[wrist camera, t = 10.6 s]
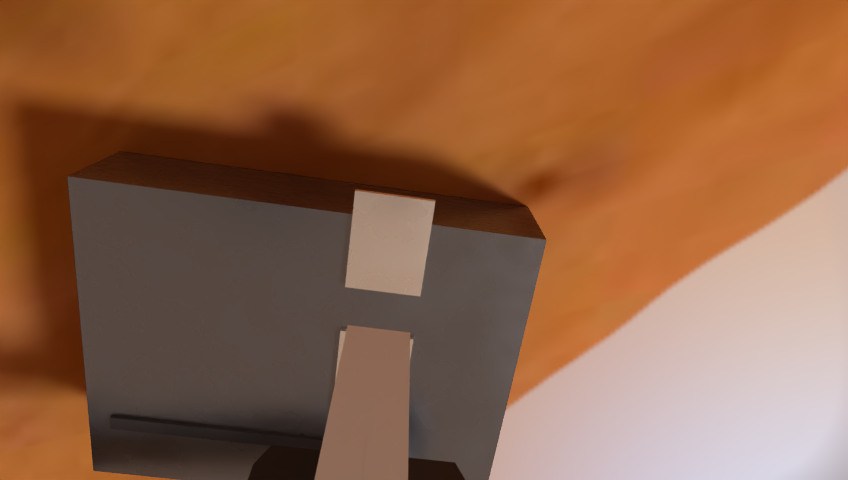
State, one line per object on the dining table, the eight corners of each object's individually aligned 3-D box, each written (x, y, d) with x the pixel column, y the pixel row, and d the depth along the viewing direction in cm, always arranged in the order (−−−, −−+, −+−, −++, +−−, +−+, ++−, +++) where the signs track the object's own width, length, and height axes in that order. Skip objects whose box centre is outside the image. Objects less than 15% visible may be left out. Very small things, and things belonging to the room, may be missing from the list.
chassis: (134, 421, 30) (25, 579, 22) (118, 128, 24) (-38, 190, 16) (471, 457, 31) (492, 620, 23) (532, 185, 25) (588, 271, 17)
